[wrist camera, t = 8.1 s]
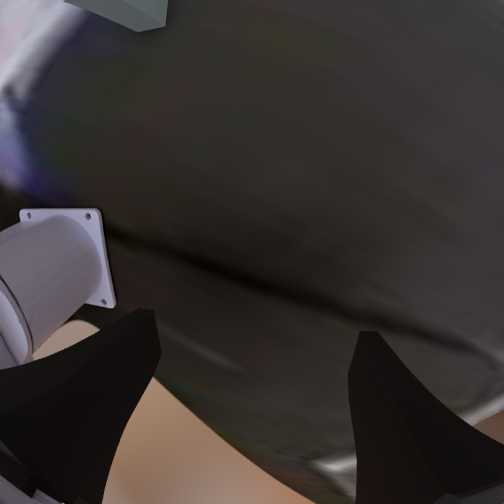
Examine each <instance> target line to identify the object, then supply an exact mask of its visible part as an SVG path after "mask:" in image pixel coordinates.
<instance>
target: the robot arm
mask: <svg viewBox="0 0 504 504" xmlns="http://www.w3.org/2000/svg"><path fill="white" fill-rule="evenodd" d="M30 214H31V215H30ZM88 214H90V216H91V218H90V217H89V215H88ZM20 220H21V222H20V223H17V224H15V225H13V226H11V227H9V228H7V229H5V230H3V231H1V232H0V504H61V503H64V504H102V500H103V495H104V490H105V486H106V482H107V479H108V475H109V471H110V468H111V465H112V461H113V458H114V456H115V452H116V450H117V447H118V444H119V442H120V439H121V436H122V434H123V431H124V429H125V427H126V424H127V422H128V420H129V419H130V417H131V415H132V413H133V411H134V409H135V408H136V406H137V404H138V402H139V401H140V399H141V397H142V395H143V393H144V391H145V390H146V388H147V386H148V384H149V383H150V381H151V379H152V377H153V375H154V372H155V370H156V367H157V365H158V362H159V359H160V357H161V354H162V352H161V347H160V342H159V337H158V332H157V326H156V321H155V315H154V310H147V309H141V308H139V309H136V310H134V311H133V312H131V313H129V314H127V315H125V316H124V317H122V318H120V319H119V320H117V321H115V322H113V323H112V324H110V325H108V326H107V327H105V328H103V329H101V330H100V331H98V332H96V333H95V334H93V335H91V336H89V337H87V338H85V339H84V340H81V341H80V342H78V343H76V344H74V345H72V346H70V347H68V348H66V349H64V350H61V351H59V352H57V353H54V354H52V355H49V356H47V357H45V358H41V359H38V360H35V361H34V359H33V356H32V355H33V353H34V352H35V351H36V350H37V349H38V348H39V347H40V346H41V345H42V344H43V343H44V342H45V341H46V340H47V339H48V338H49V337H50V336H51V335H52V334H53V333H54V332H55V331H56V330H57V329H58V328H59V327H60V326H61V325H62V324H63V323H64V322H65V321H66V320H67V319H68V318H69V317H70V316H71V315H72V314H73V313H74V312H76V311H77V310H78V309H79V308H80V307H81V306H82V305H83V304H84V303H88V304H92V305H97V306H102V307H107V308H113V307H114V306H115V305H116V299H115V294H114V289H113V284H112V279H111V274H110V269H109V263H108V257H107V251H106V245H105V238H104V231H103V224H102V216H101V212H100V211H99V210H98V209H95V208H40V209H22V210H21V211H20ZM104 300H105V301H106V302H105V301H104ZM348 392H349V404H350V411H351V418H352V424H353V431H354V439H355V446H356V457H357V484H356V502H355V504H502V503H503V502H504V444H502V443H499V442H497V441H496V440H494V439H492V438H490V437H489V436H487V435H485V434H483V433H482V432H480V431H478V430H477V429H475V428H474V427H472V426H471V425H469V424H468V423H467V422H465V421H464V420H462V419H461V418H460V417H458V416H457V415H456V414H454V413H453V412H452V411H451V410H449V409H448V408H447V407H446V406H445V405H444V404H442V403H441V402H440V401H439V400H438V399H437V398H436V397H435V396H434V395H432V394H431V393H430V392H429V391H428V390H427V389H426V388H425V386H424V385H423V384H422V383H421V382H420V381H419V380H418V379H417V378H416V377H415V376H414V375H413V374H412V373H411V371H410V370H409V369H408V368H407V367H406V366H405V365H404V363H403V362H402V361H401V360H400V359H399V357H398V356H397V355H396V354H395V353H394V351H393V350H392V349H391V348H390V346H389V345H388V344H387V343H386V341H385V340H384V339H383V338H382V337H381V335H380V334H379V333H378V332H377V331H360V333H359V337H358V341H357V345H356V348H355V352H354V355H353V359H352V362H351V365H350V369H349V372H348Z"/></svg>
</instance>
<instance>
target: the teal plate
mask: <svg viewBox="0 0 504 504" xmlns="http://www.w3.org/2000/svg"><path fill="white" fill-rule="evenodd" d="M63 1H64V2H67V3H70V4H73V5H75V6H78V7H81V8H83V9H86V10H88V11H91V12H93V13H96V14H98V15H100V16H103V17H105V18H107V19H110V20H112V21H114V22H117V23H119V24H121V25H123V26H125V27H127V28H130V29H132V30H134V31H136V32H141V31H146V30H150V29H155V28H161V27H166V16H167V5H168V0H63Z"/></svg>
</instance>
